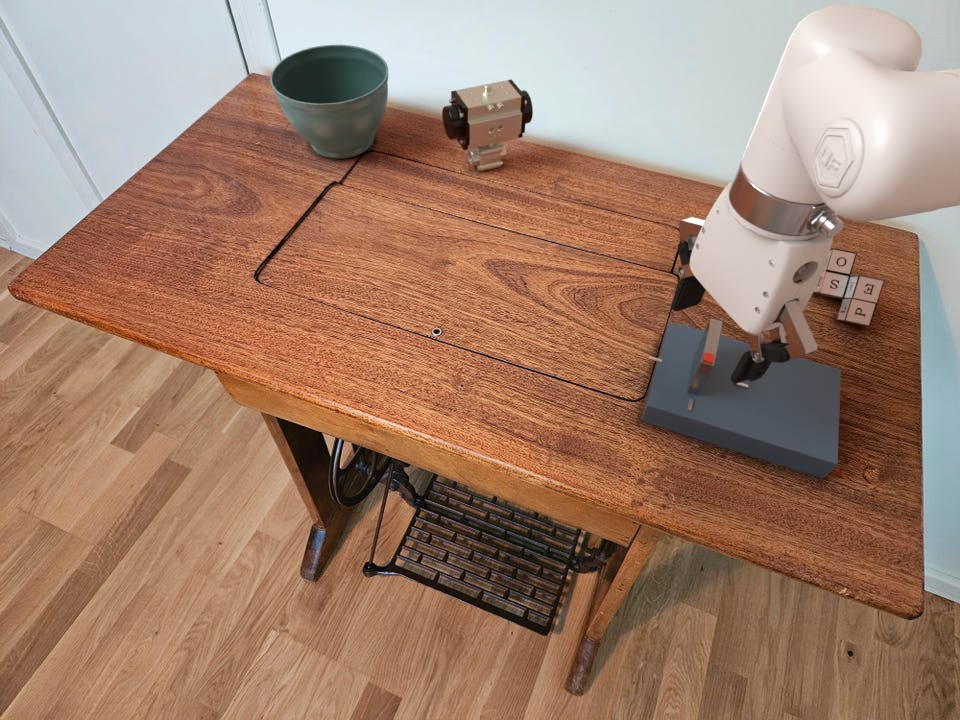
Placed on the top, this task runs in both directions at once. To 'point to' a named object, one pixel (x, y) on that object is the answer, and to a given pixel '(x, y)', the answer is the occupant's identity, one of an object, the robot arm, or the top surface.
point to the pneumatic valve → (487, 120)
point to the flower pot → (333, 97)
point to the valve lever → (705, 357)
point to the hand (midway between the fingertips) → (713, 340)
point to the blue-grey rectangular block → (748, 404)
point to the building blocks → (849, 288)
